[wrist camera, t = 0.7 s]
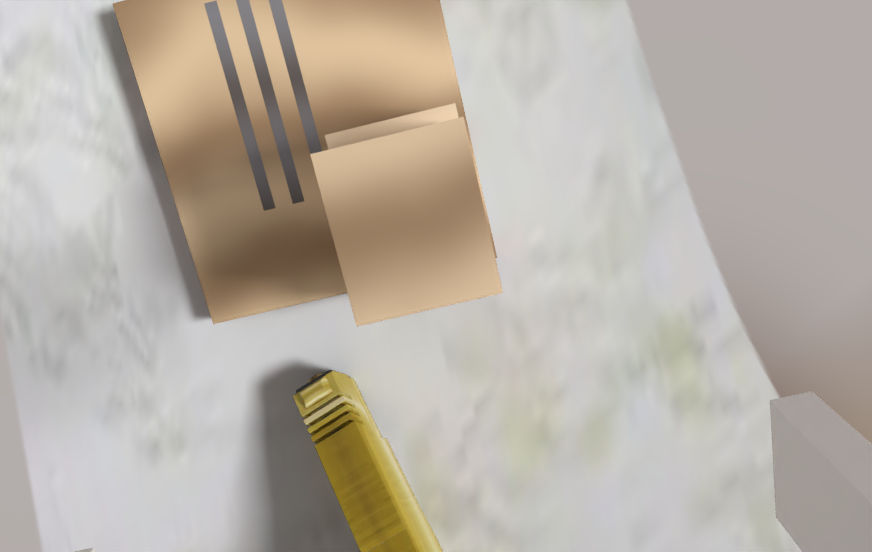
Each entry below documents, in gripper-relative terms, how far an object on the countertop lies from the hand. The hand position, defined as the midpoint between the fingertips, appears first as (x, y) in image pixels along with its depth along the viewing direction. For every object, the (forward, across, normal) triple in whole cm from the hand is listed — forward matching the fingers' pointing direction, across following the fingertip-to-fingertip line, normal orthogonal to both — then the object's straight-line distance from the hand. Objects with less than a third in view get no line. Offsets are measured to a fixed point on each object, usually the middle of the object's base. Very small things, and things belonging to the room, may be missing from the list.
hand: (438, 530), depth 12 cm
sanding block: (+21, 0, -1) cm, 21 cm away
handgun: (+20, +4, +16) cm, 26 cm away
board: (+23, +4, -5) cm, 24 cm away
